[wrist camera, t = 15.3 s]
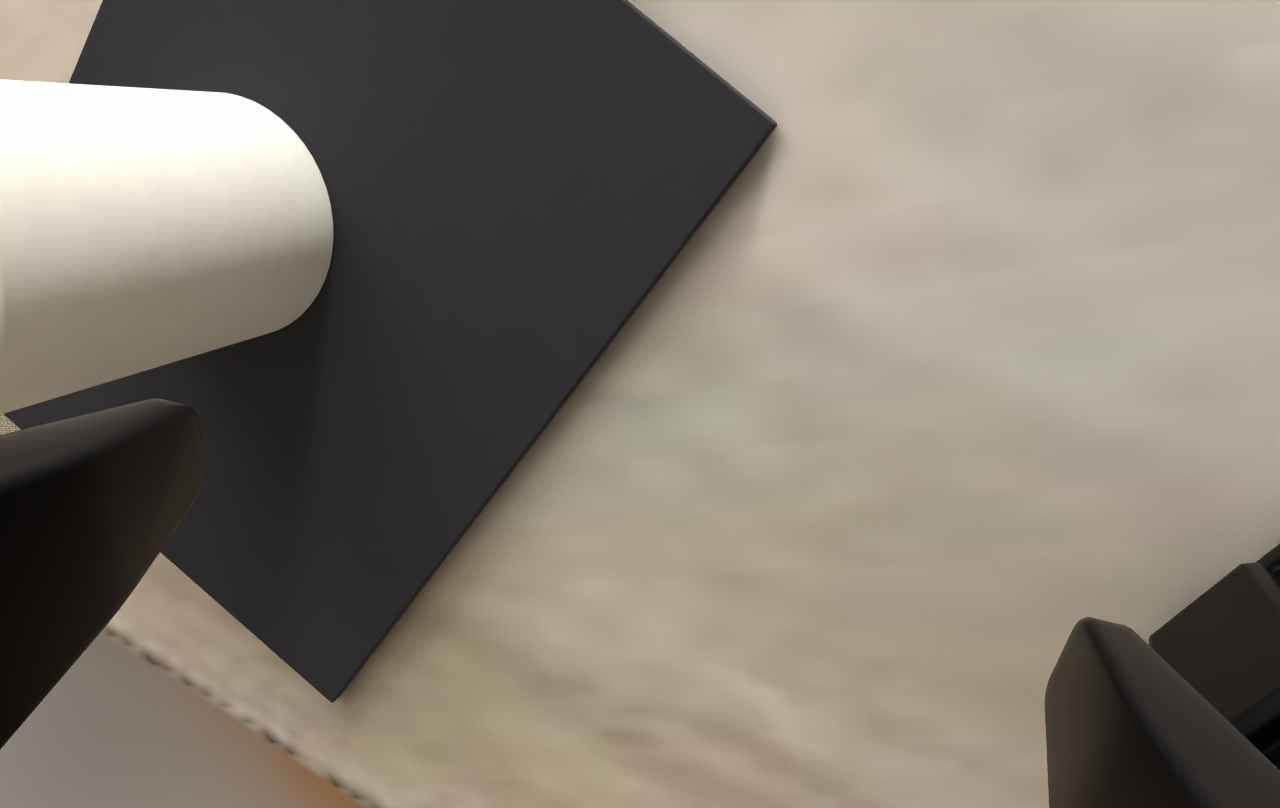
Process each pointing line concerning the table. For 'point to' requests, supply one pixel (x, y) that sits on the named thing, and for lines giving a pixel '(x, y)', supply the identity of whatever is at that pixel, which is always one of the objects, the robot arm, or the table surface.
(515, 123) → the felt mat
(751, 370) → the table surface
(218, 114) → the bottle
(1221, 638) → the robot arm
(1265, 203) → the table surface
